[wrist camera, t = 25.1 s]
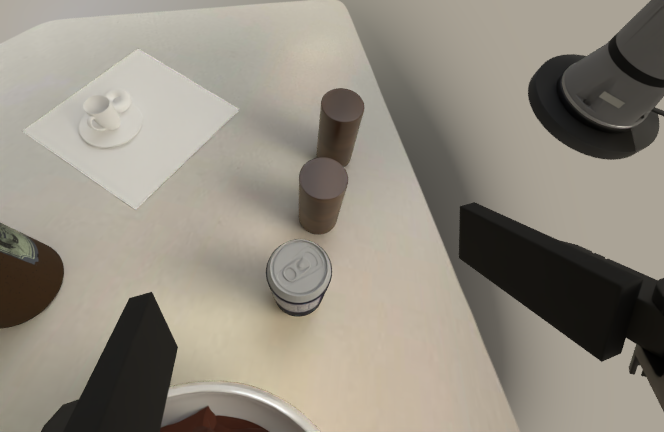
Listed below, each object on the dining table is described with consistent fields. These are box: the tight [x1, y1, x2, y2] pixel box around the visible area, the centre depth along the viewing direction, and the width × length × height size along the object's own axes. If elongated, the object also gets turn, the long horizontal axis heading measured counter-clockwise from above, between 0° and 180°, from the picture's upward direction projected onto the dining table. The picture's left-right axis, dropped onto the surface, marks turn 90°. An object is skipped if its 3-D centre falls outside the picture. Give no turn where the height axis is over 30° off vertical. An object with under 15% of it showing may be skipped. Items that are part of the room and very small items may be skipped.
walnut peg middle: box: [299, 157, 348, 234], centre depth 37 cm, size 5×5×10 cm
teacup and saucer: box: [78, 87, 144, 148], centre depth 42 cm, size 9×8×4 cm
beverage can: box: [266, 239, 332, 316], centre depth 32 cm, size 6×6×12 cm
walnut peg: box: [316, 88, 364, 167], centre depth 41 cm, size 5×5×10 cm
